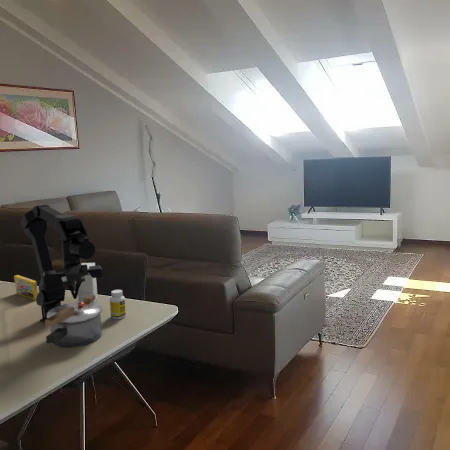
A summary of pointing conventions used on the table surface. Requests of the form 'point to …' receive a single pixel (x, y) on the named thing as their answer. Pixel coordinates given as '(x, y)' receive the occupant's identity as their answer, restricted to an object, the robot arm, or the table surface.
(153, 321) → the table surface
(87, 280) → the skincare box
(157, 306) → the table surface
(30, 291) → the candy box
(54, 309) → the lid
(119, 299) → the supplement bottle
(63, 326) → the cooker pot
